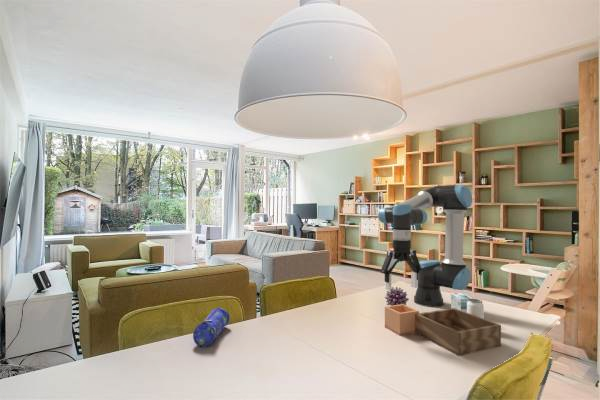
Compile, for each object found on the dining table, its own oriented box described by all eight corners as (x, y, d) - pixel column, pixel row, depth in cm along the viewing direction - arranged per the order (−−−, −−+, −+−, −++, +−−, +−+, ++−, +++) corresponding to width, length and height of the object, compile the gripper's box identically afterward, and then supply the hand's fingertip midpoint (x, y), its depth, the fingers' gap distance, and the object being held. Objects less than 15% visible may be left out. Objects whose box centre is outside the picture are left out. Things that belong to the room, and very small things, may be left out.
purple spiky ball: (379, 308, 168) (379, 285, 168) (397, 305, 173) (397, 283, 173) (395, 315, 158) (395, 290, 158) (413, 311, 163) (413, 288, 163)
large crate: (454, 325, 144) (454, 307, 144) (500, 346, 124) (500, 325, 124) (415, 332, 136) (415, 313, 136) (458, 355, 116) (458, 333, 116)
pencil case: (213, 349, 120) (213, 323, 120) (190, 348, 120) (191, 322, 120) (230, 326, 142) (230, 305, 142) (211, 326, 142) (211, 304, 142)
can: (466, 328, 141) (466, 301, 141) (466, 324, 147) (466, 297, 147) (483, 331, 138) (483, 303, 138) (483, 326, 144) (483, 299, 144)
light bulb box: (475, 322, 149) (475, 299, 149) (460, 322, 149) (460, 298, 149) (464, 314, 160) (464, 292, 160) (450, 314, 160) (450, 292, 160)
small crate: (403, 324, 146) (403, 304, 146) (418, 332, 137) (418, 310, 137) (384, 327, 142) (384, 306, 142) (399, 335, 133) (399, 313, 133)
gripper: (383, 241, 132) (382, 293, 131) (430, 239, 141) (430, 288, 141) (372, 239, 139) (372, 288, 138) (418, 237, 148) (417, 284, 148)
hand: (401, 288), depth 140 cm, fingers open, 13 cm apart
